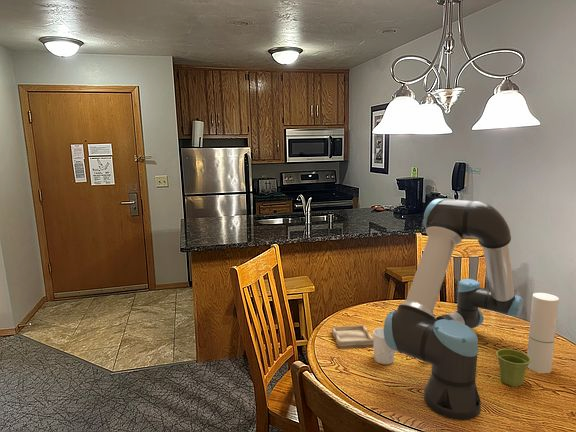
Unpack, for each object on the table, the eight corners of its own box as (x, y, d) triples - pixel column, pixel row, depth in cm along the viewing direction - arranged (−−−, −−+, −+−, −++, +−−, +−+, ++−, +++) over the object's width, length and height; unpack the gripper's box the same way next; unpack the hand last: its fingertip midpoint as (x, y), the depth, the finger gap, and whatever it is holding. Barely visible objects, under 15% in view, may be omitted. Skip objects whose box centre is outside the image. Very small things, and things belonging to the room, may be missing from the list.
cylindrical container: (553, 367, 133) (560, 296, 129) (548, 376, 127) (556, 302, 123) (529, 360, 137) (535, 291, 133) (523, 368, 132) (530, 297, 128)
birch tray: (374, 346, 148) (374, 340, 148) (339, 348, 147) (339, 342, 147) (363, 330, 161) (363, 325, 161) (331, 332, 160) (331, 326, 160)
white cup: (396, 366, 135) (397, 338, 133) (372, 364, 136) (373, 337, 135) (394, 354, 142) (395, 328, 141) (372, 352, 144) (372, 327, 142)
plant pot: (488, 373, 130) (490, 348, 128) (518, 373, 130) (520, 348, 128) (503, 390, 121) (505, 363, 119) (534, 390, 120) (537, 363, 119)
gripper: (476, 347, 141) (432, 362, 132) (424, 321, 163) (383, 332, 154) (477, 327, 140) (433, 341, 131) (424, 303, 162) (383, 313, 153)
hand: (405, 336), depth 142 cm, fingers open, 13 cm apart
